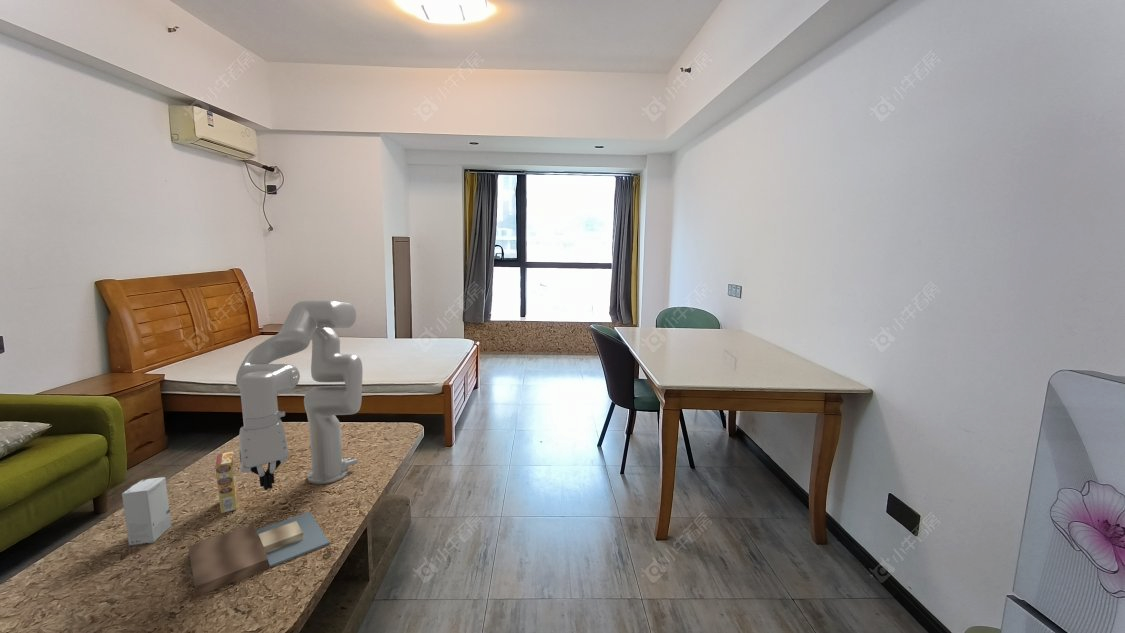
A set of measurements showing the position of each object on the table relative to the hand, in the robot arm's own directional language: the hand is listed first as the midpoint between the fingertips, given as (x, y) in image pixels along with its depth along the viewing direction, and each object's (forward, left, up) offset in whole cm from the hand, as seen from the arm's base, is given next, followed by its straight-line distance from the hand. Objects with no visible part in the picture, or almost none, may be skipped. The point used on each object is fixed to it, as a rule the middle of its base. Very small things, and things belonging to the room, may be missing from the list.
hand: (267, 487), depth 119 cm
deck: (+10, 0, -16) cm, 19 cm away
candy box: (+6, -30, -17) cm, 35 cm away
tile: (-2, 0, -16) cm, 16 cm away
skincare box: (+24, -26, -17) cm, 39 cm away
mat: (-4, 0, -16) cm, 17 cm away
